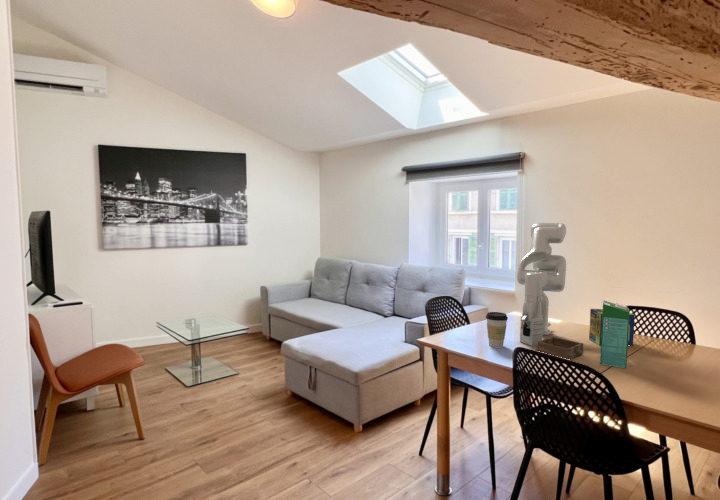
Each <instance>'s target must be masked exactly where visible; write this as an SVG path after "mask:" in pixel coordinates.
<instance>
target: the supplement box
mask: <svg viewBox="0 0 720 500" xmlns="http://www.w3.org/2000/svg"><path fill="white" fill-rule="evenodd" d="M521 319H522V315H521V316H520V327H519V329H520V332H519V342H520V343H522V344H526V345H529V346H531V347H533V346H538V342H539V341H542V340H544V338H543V336H544V335H543V318H540V317H539V318H536V319H532V322H531V323H530V327H529V328H530V336H529V337H528V336H524V335H523V327H522V326H523V325H522V321H521ZM526 321H529V319H528V318H527V319H526ZM527 325H528V323H527Z"/></svg>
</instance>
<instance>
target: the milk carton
mask: <svg viewBox="0 0 720 500" xmlns="http://www.w3.org/2000/svg"><path fill="white" fill-rule="evenodd" d="M602 309H603V314H602V335H601V346H600V359H599V361H600V362H599V364H600V365H603V366H609V367H615V368H621V369H627V368H628V364H627V363H628V350H629V349H628V348H629V347H628V331H629V312H630V308H629V307H628V305H626V304H623V303H619V302H615V303H613V302H610V301H607V300H603V302H602Z"/></svg>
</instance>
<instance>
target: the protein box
mask: <svg viewBox="0 0 720 500" xmlns="http://www.w3.org/2000/svg"><path fill="white" fill-rule="evenodd" d="M589 310H590V311H589V332H588V333H589V335H588V340H590V341H591V342H592V343H594V344H596V345H598V346H599V347H601V335H602V314H603V308H590V309H589ZM635 317H636V315H635V314H634V313H632V312H630V311H629V331H628V345H630V346H633V347H634V336H635V335H634V332H635V331H634V330H635V319H636V318H635Z"/></svg>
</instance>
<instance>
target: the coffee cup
mask: <svg viewBox="0 0 720 500" xmlns="http://www.w3.org/2000/svg"><path fill="white" fill-rule="evenodd" d="M485 318H486V329H487V338H488V346H490V347H491V348H499V349H500V348H503V347H504V341H505V337H506V329H507V323H508V316H507V314H506V313H505V312H500V311H490V312H487V313H486V315H485Z"/></svg>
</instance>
